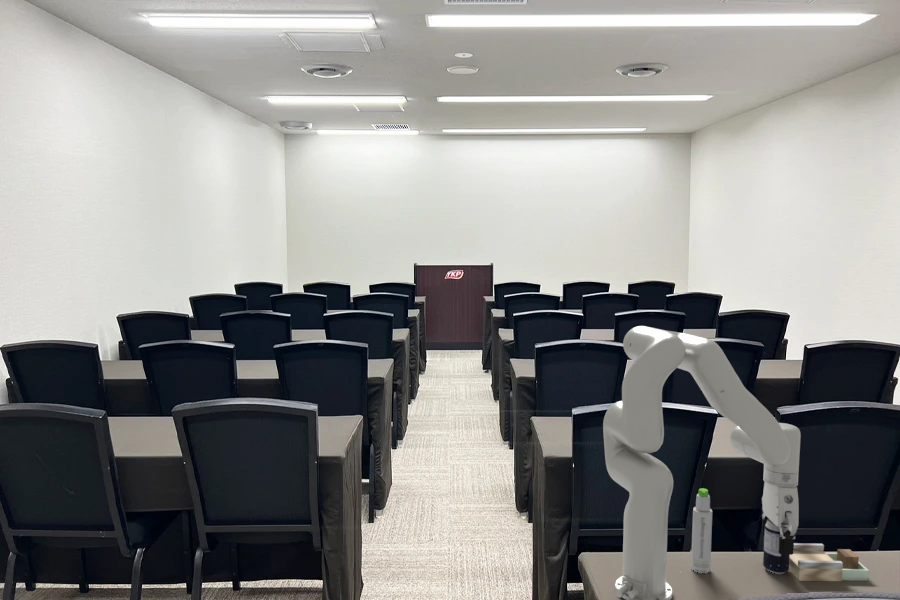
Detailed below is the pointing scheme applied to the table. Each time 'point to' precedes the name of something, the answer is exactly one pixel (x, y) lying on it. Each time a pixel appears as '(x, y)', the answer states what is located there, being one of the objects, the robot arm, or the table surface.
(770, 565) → the beverage can
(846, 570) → the tray
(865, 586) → the table surface
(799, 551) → the slot board
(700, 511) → the bottle
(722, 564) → the table surface
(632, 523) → the robot arm
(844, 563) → the brown block
